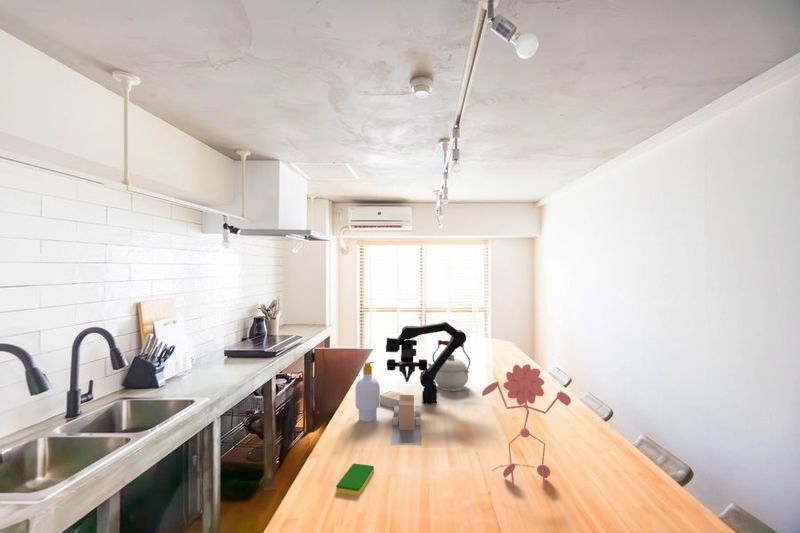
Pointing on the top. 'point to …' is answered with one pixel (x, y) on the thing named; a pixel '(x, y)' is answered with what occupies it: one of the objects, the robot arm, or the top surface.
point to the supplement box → (390, 399)
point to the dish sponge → (355, 479)
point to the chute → (406, 435)
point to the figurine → (525, 388)
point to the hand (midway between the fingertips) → (407, 381)
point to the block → (406, 412)
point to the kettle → (451, 372)
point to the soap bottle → (367, 395)
